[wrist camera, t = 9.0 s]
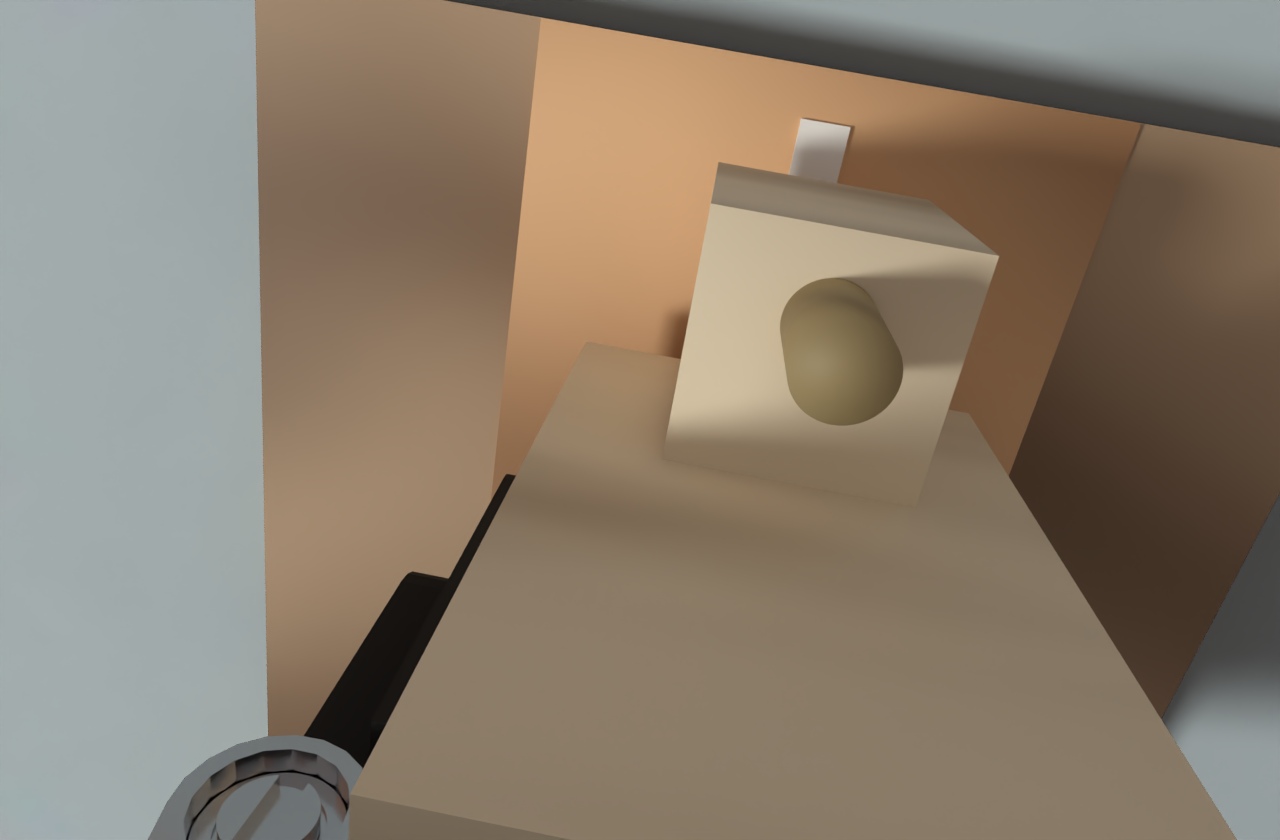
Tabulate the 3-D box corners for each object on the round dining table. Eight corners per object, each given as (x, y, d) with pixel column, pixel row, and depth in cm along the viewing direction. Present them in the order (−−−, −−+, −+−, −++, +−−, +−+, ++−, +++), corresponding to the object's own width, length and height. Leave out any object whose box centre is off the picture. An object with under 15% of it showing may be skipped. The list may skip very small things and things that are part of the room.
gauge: (790, 931, 12) (832, 1659, 7) (510, 873, 12) (325, 1541, 7) (1035, 219, 8) (1656, 576, 3) (614, 142, 8) (363, 334, 3)
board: (850, 1204, 19) (859, 1305, 17) (309, 1086, 19) (272, 1174, 18) (1347, 158, 10) (1456, 179, 8) (319, -22, 10) (247, -34, 9)
